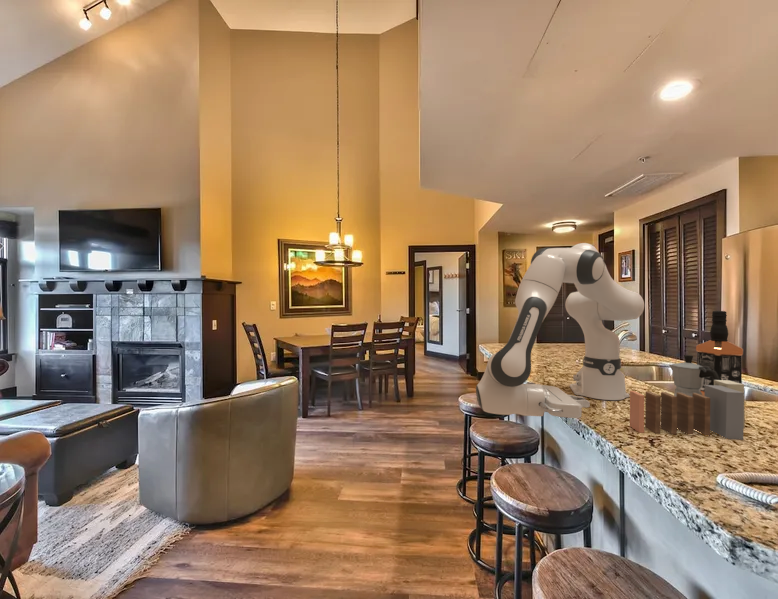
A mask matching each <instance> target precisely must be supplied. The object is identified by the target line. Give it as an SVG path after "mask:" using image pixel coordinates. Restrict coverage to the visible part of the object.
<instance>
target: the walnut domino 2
mask: <svg viewBox="0 0 778 599" xmlns="http://www.w3.org/2000/svg"><path fill="white" fill-rule="evenodd" d="M660 396H661V421H660V429H662V430H664V431H666V432H667V431H668V432H667V433H669V434H670V433H671V435H676V434H677V433H678V432H677V431H678V429H677V397H676V396H674V394H671V393H670V392H669V393H668V392H666V391H661V392H660Z"/></svg>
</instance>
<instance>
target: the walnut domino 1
mask: <svg viewBox="0 0 778 599" xmlns="http://www.w3.org/2000/svg"><path fill="white" fill-rule="evenodd" d="M644 428H646V429H648V430H649V431H650V432H652V433H654V434H661V395H659V394H656V393H654V392H652V391H645V398H644Z"/></svg>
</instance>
